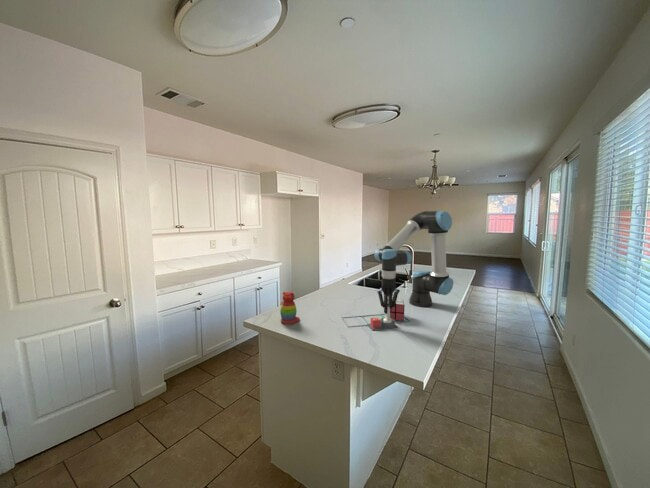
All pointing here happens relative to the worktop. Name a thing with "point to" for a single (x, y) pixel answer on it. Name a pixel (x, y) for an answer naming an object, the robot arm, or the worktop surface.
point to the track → (367, 322)
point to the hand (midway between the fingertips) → (387, 318)
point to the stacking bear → (288, 309)
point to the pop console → (381, 324)
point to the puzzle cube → (398, 311)
